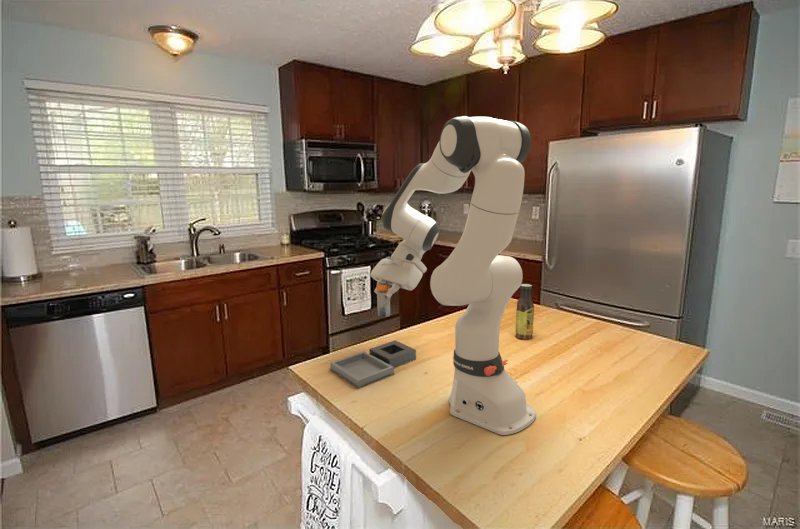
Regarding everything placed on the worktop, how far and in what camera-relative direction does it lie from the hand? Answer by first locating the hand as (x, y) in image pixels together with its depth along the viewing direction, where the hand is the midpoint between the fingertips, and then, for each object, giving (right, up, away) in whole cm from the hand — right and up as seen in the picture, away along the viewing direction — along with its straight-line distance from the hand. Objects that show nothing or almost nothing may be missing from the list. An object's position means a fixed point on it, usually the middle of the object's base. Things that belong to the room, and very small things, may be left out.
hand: (381, 294), depth 128 cm
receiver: (+3, -22, +7) cm, 23 cm away
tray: (-6, -24, -2) cm, 25 cm away
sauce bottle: (+52, -18, +23) cm, 59 cm away
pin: (+1, -7, +2) cm, 7 cm away
